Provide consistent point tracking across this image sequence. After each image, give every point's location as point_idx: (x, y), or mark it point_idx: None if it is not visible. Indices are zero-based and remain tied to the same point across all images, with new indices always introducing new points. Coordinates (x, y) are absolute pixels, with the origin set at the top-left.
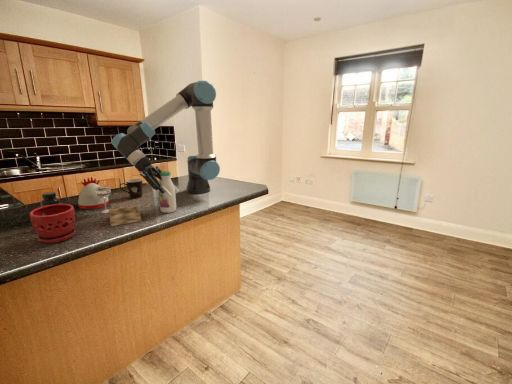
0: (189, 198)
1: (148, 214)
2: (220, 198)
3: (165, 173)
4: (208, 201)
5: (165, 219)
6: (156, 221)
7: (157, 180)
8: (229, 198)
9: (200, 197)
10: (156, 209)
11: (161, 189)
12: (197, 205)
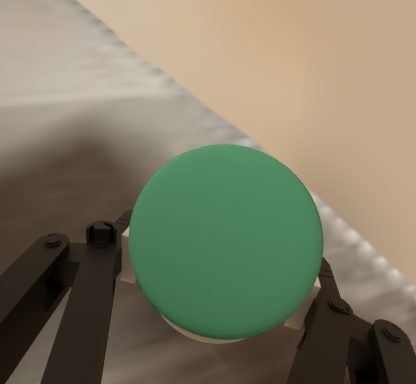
0: (15, 196)
1: (276, 380)
2: (58, 58)
3: (316, 209)
4: (94, 102)
5: (344, 259)
6: (375, 299)
7: (306, 360)
8: (68, 27)
9: (14, 142)
10: (190, 352)
11: (333, 285)
12: (148, 143)
